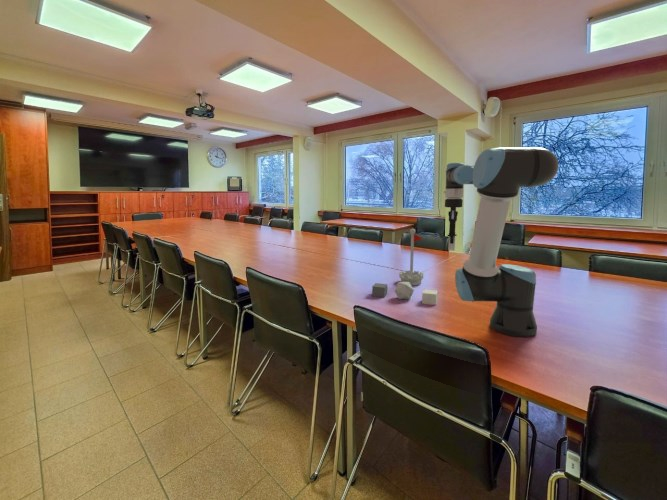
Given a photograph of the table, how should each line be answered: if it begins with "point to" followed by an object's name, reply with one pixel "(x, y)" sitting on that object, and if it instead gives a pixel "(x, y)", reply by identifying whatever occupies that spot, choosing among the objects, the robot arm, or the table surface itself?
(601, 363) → the table surface
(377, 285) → the charcoal block
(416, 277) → the flag stand
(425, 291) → the off-white block
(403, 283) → the die
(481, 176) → the robot arm
